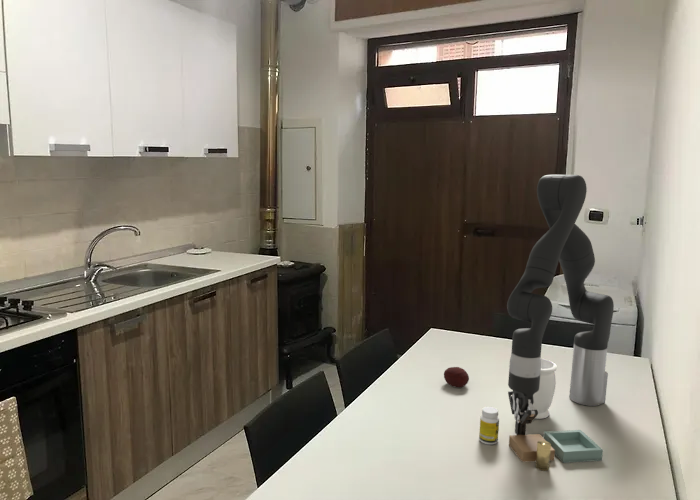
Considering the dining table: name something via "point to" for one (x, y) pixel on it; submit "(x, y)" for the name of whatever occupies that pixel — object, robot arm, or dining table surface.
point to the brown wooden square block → (527, 446)
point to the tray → (573, 446)
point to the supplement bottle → (489, 426)
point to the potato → (456, 377)
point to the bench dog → (543, 455)
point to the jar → (545, 389)
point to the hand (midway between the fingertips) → (519, 434)
